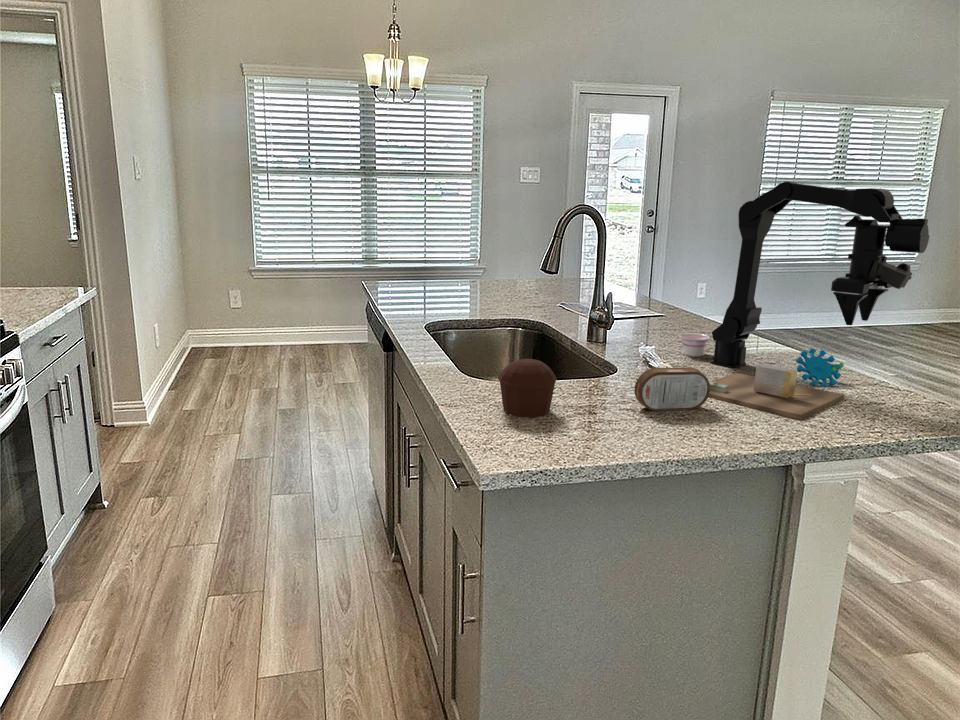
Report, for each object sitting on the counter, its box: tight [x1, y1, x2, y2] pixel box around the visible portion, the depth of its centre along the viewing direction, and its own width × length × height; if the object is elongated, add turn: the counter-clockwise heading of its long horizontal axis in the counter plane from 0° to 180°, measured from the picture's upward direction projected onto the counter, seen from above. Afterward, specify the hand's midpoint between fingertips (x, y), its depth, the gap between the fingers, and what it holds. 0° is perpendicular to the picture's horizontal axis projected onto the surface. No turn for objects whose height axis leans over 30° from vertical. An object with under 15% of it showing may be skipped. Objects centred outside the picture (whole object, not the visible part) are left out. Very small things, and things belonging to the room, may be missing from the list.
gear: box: [795, 348, 845, 388], centre depth 160 cm, size 11×6×10 cm
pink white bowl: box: [678, 332, 711, 358], centre depth 182 cm, size 12×12×6 cm
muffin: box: [497, 358, 558, 419], centre depth 135 cm, size 12×11×10 cm
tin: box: [633, 367, 710, 412], centre depth 138 cm, size 15×3×8 cm, turn 99°
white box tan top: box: [754, 363, 798, 399], centre depth 146 cm, size 7×3×6 cm, turn 43°
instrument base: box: [708, 372, 845, 421], centre depth 149 cm, size 24×22×3 cm
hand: (857, 322), depth 150 cm, fingers open, 9 cm apart
